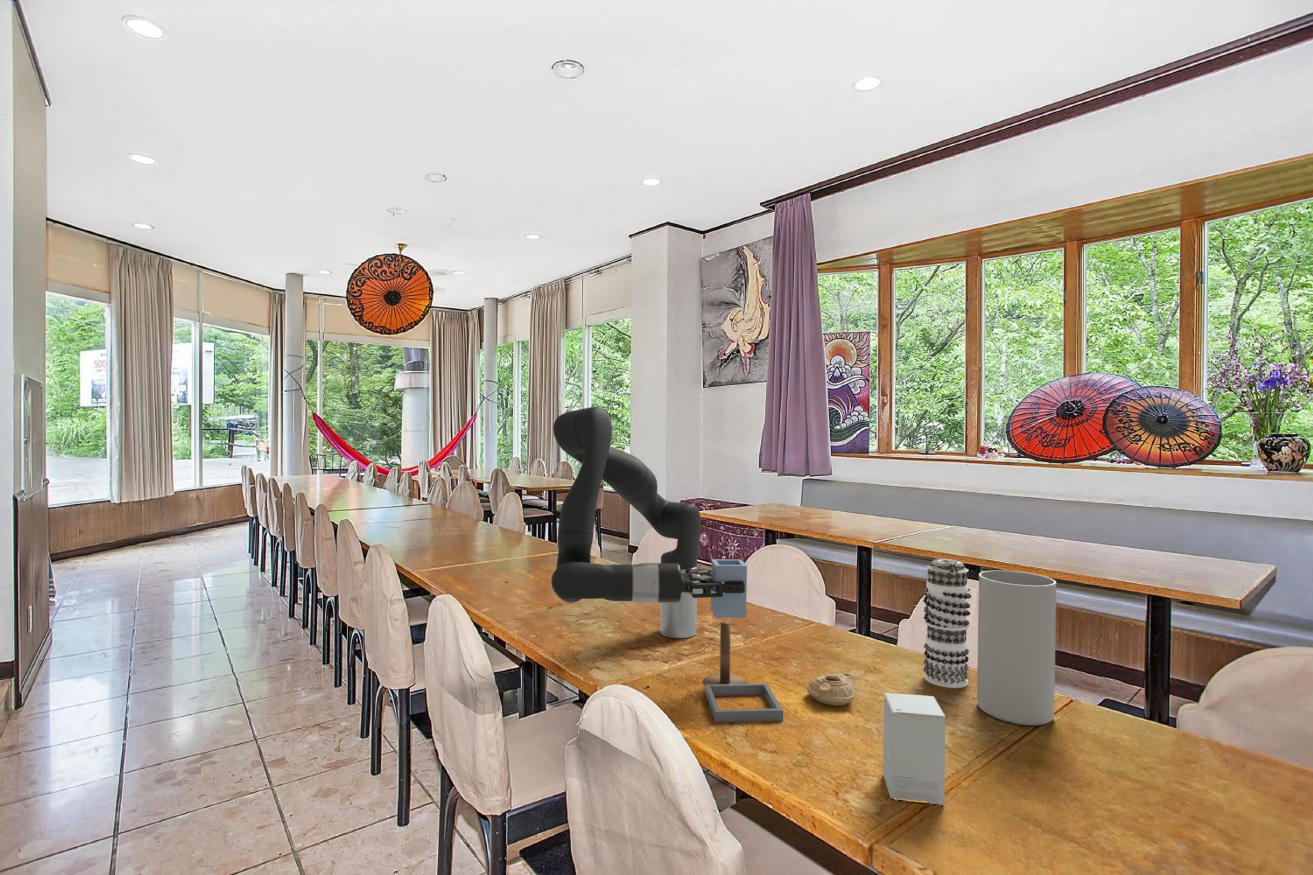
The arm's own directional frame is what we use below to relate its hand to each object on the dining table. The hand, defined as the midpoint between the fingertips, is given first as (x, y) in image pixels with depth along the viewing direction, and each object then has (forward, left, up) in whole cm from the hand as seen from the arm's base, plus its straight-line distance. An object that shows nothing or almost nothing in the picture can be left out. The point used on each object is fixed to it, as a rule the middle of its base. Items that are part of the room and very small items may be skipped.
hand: (740, 582), depth 127 cm
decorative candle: (-23, +38, -22) cm, 50 cm away
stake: (-2, -4, -22) cm, 22 cm away
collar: (+1, -2, -6) cm, 6 cm away
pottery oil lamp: (-3, +18, -22) cm, 29 cm away
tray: (+8, +2, -22) cm, 23 cm away
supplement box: (+24, +31, -22) cm, 45 cm away
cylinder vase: (-11, +49, -22) cm, 55 cm away
